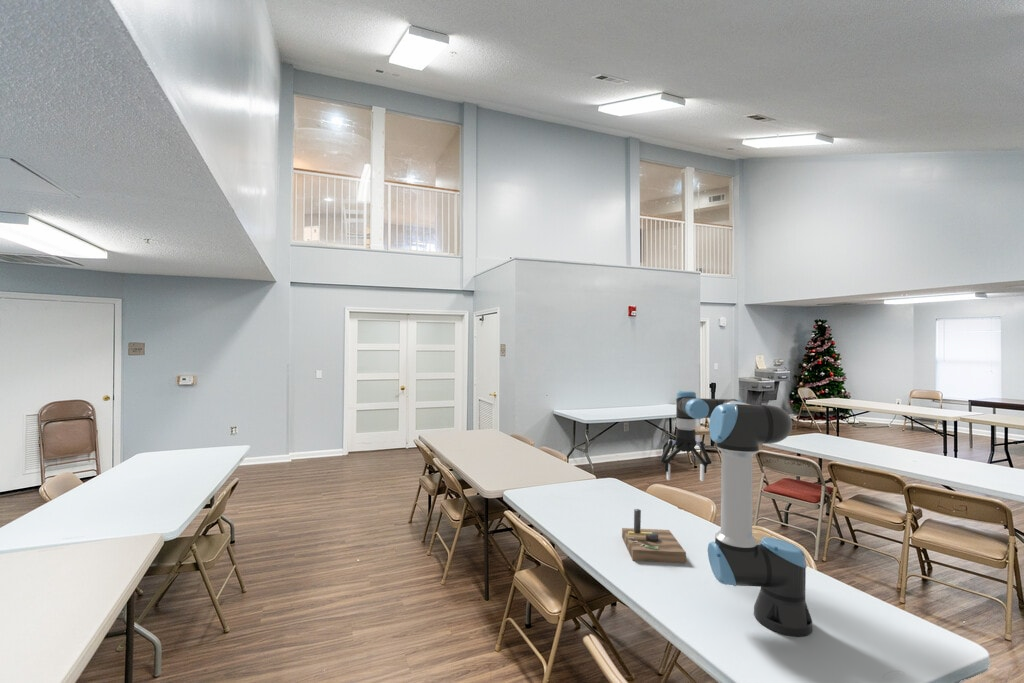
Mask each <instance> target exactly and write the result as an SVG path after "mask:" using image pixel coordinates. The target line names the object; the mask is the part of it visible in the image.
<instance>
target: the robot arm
mask: <svg viewBox="0 0 1024 683" xmlns="http://www.w3.org/2000/svg"><path fill="white" fill-rule="evenodd" d="M675 402H676V406H675V407H676V413H675V414H676V415H675V417H676V420H675V422H676V424H675V426H676V430H675V440H673V439H670V438H669V439H667V445H666V446H665V449H664V451H663V453H662V454H661V456H660V458H659V461H660V462H661V463H663V466H664V467H663V470H664V472H666V480H667V481H671V464H670V462H671V461H672V460H674V458H675V457H676V456H677V454H679V453H680V452H682V453H683V452H688V453H690V452H692V453H693V454H694V455H695V457H696V458H697V459H698V460H699V462H700V464H699V481H701V482H702V483H705V474H706V473H707V470H708V469H707V467H708V465H711V464H712V460H711V458H710V456H709V454H708V452H707V450H706V448H705V444H704V440H696V435H697V434H696V431H697V430H696V428H697V427H696V426H697V425H696V424H697V423H696V421H697V420H702V419H705V418H706V419H709V424H708V431H709V437H710V439H711V440H712V442H714V443H715V444H716V448H717V449H718V450H719V451H720V453H721V467H720V468H721V473H720V474H721V475H720V476H721V478H720V479H721V482H720V486H721V487H720V490H721V491H720V530H718V531H717V532H716V533H715V536H714V538H715V541H711V542H709V543H708V545H707V556H708V561H709V565H710V568H711V572H712V574H713V576H714V578H716V580H717V581H718V582H719V583H720V584H722V585H725V586H733V587H737V586H738V587H756V588H757V587H760V590H759V592H758V595H757V598H756V600H755V601H754V602H755V603H754V605H753V616H754V618H755V619H756V621H757V622H759V623H760V624H761V625H763V626H764V627H766V628H768V629H769V630H772V631H773V632H777V633H779V634H782V635H787V636H791V637H805V636H808V635H811V633H812V632H813V620H812V616H811V613H810V611H809V607H808V605H807V600H806V586H807V585H806V579H807V578H806V574H807V572H806V568H807V562H806V554H805V553H804V551H803V549H801V548H800V547H798V546H797V545H795V544H793V543H791V542H789V541H786V540H784V539H780V538H776V537H769V536H765V537H762V538H761V540H760V541H758V540H757V539H756V537H754V536H753V492H754V491H753V490H754V489H753V486H754V485H753V478H754V476H753V471H754V470H753V469H754V468H753V467H754V460H753V459H754V455H756V454H757V453H759V449H760V448H759V446H760V444H761V445H762V444H764V445H766V444H767V445H769V444H777V443H780V442H782V441H783V440H785V439H787V438H788V436H789V435H790V433H791V432H792V429H793V421H792V418H791V416H790V415H789V413H788V412H787V411H786V410H784V409H783V408H781V407H778V406H775V405H770V404H749V403H746V402H744V401H743V400H741V399H736V398H729V399H726V398H725V399H724V398H699V397H698V398H697V393H696V392H695V391H692V390H691V391H690V390H679V391H677V392H676V397H675ZM674 445H675V447H674V449H673V450H672V452H670V451H671V449H672V447H673V446H674ZM696 446H698V447H699V449H700V451H701V453H702V456H703V457H704V458H703V457H702V456H701V455H700V453H699V452H698V451H697V449H696V448H695V447H696ZM669 453H670V454H669ZM758 542H760V544H759V543H758Z"/></svg>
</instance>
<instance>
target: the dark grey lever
mask: <svg viewBox="0 0 1024 683" xmlns="http://www.w3.org/2000/svg"><path fill="white" fill-rule="evenodd" d="M633 511H634V512H633V528H634V532H632V531H628V534H629V535H641V536H646V539H647V540H649V541H658V536H659V535H658V533H656V532H641V529H642V527H641V522H642V520H641V519H642V516H641V515H642V514H641V513H642V510H641V509H639V508H634V509H633Z"/></svg>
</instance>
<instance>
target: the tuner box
mask: <svg viewBox="0 0 1024 683" xmlns="http://www.w3.org/2000/svg"><path fill="white" fill-rule="evenodd" d="M628 531H632V532H634V527H630V528H629V527H622V528H621V538H622V540H623V542H624V545H625V548H626V549H627V551H628V553H629V555H630V558H631V559H632V561H635V562H636V561H637V562H655V563H656V562H658V563H659V562H660V563H681V564H683V563H684V564H686V562H687V561H686V560H687V558H686V554H687V552H686V551H685V549H684V548H683V546H682V545H681V543H680V542H679V541H678V540H677V539H676V537H675V536H674V534H673V533H672V532H671V531H670V530H669V529H658V528H657V529H655V528H654V529H653V528H641V532H656V533H658V535H659V536H658V541H649V540H647V539H646V536H641V535H629V534H628Z"/></svg>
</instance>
